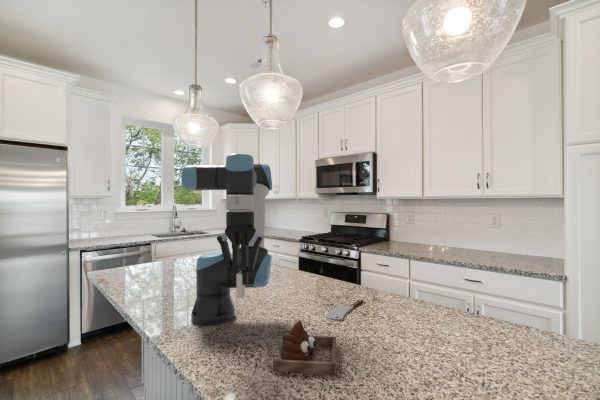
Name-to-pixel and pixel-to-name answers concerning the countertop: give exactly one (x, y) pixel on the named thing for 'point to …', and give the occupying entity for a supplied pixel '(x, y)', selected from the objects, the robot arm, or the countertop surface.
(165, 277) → the countertop surface
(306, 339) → the poop emoji
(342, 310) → the kitchen cleaver
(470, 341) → the countertop surface
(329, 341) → the walnut corral
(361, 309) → the countertop surface
